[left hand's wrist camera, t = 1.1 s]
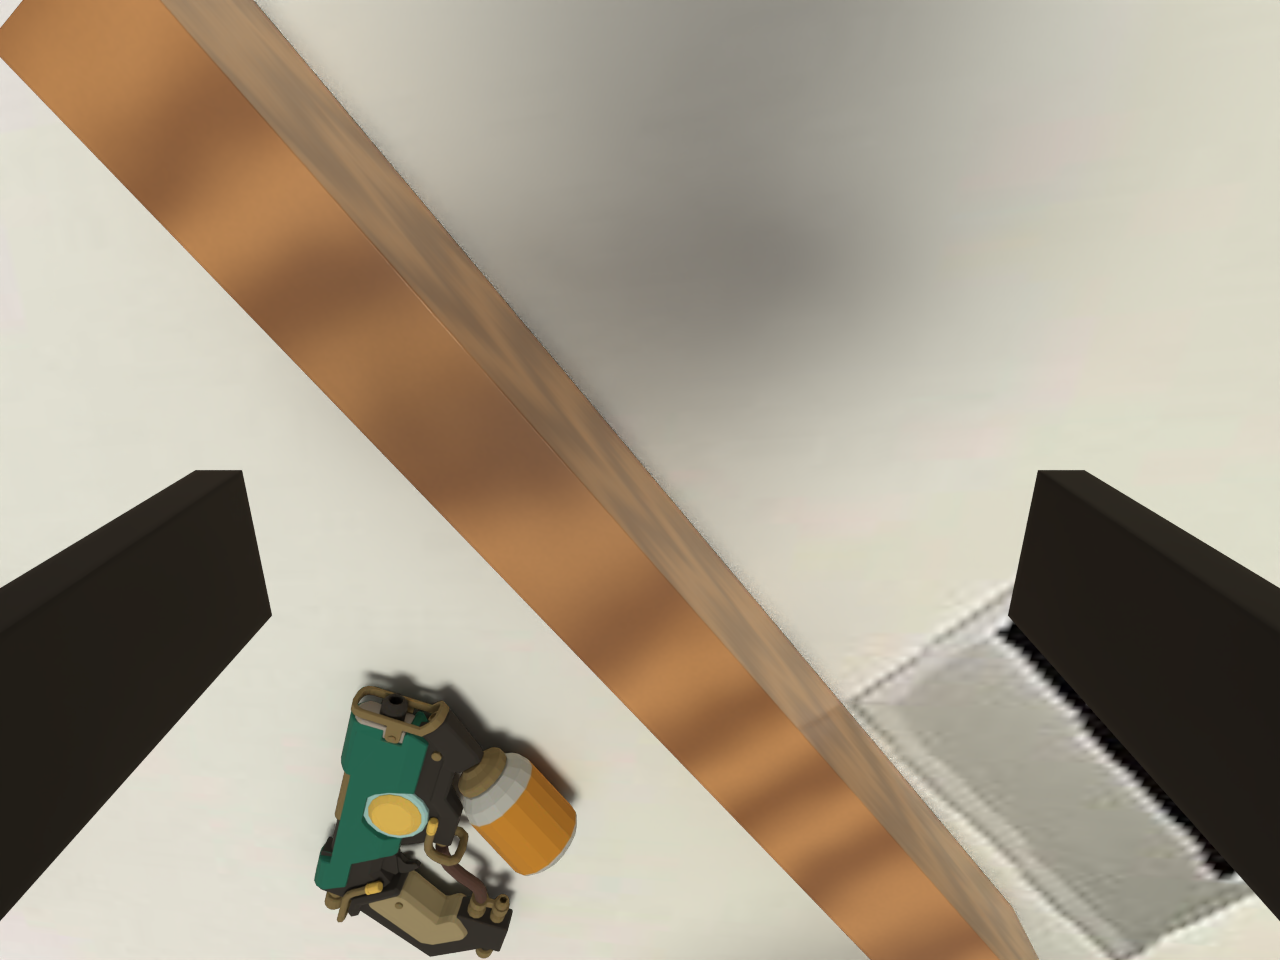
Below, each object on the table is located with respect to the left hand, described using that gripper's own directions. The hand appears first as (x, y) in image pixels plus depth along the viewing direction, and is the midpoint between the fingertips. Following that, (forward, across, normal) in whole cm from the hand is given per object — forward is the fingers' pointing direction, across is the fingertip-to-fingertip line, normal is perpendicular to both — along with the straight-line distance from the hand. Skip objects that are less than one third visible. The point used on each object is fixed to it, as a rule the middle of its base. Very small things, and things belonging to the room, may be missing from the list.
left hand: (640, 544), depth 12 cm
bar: (+21, +2, -12) cm, 24 cm away
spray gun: (+21, -12, -27) cm, 36 cm away
